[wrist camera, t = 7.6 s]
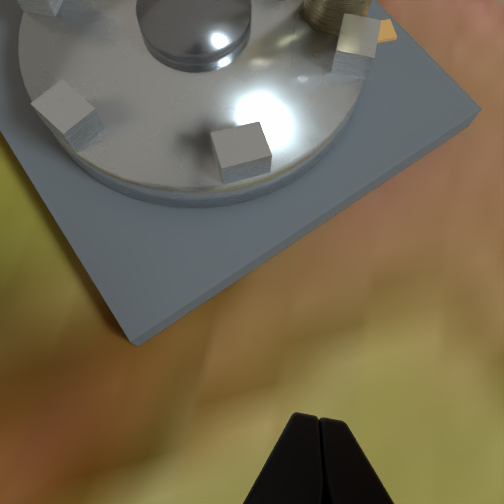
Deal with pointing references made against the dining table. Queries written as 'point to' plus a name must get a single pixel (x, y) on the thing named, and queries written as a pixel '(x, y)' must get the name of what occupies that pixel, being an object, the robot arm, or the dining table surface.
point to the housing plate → (234, 216)
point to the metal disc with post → (196, 90)
